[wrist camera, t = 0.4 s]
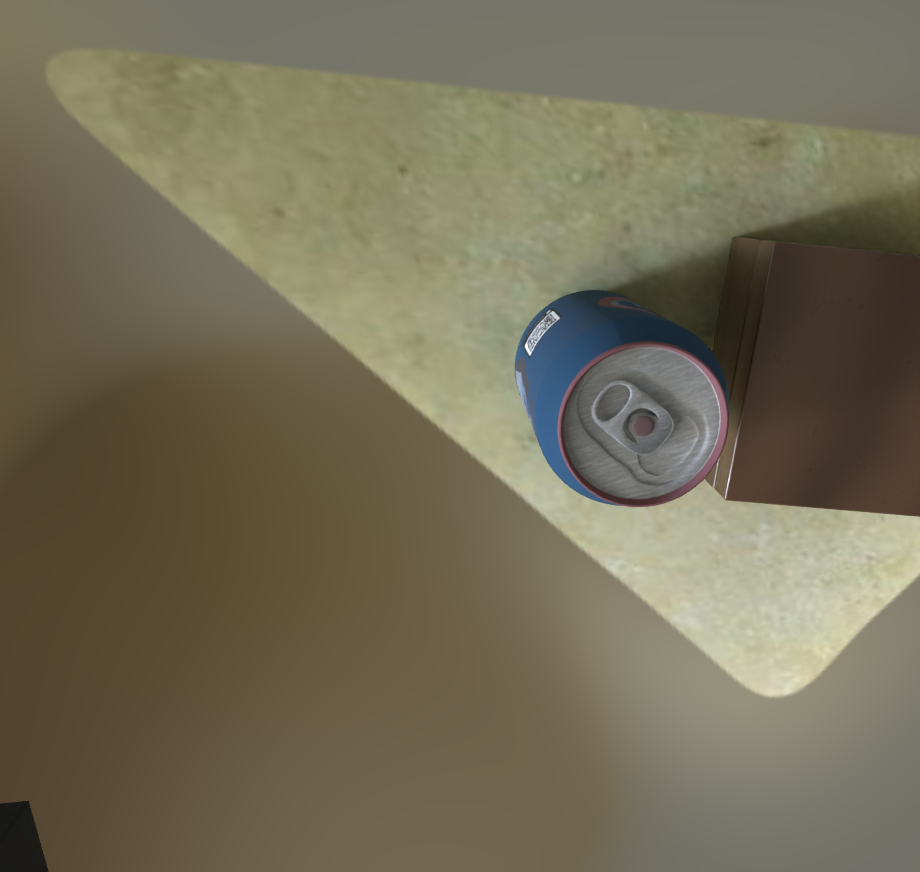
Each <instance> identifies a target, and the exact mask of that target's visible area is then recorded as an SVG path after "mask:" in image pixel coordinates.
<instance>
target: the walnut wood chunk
mask: <svg viewBox="0 0 920 872" xmlns="http://www.w3.org/2000/svg"><path fill="white" fill-rule="evenodd" d="M712 353H713V354H714V356H715V357H716V359H717V360H718V362H719V364H720V366H721V368H722V370H723V372H724V375H725V378H726V381H727V386H728V391H729V400H730V412H729V426H728V434H727V439H726V442H725V445H724V448H723V451H722V453H721V455H720V457H719V459H718V461H717V463H716V464H715V466H714V467H713V469H712V470H711V472H710V473H709V474H708V475H707V476H706V477H705V478H704V479H705V480H706V481H707V482H708V483H709V484H710V485H711V486H712V487H713V488H714V489H715V490H716V491H717V492H718V493H719V494H720V495H721V496H722V497H723V498H724V499H725V500H729V501H741V502H753V503H765V504H777V505H788V506H800V507H812V508H824V509H836V510H848V511H859V512H871V513H883V514H895V515H907V516H918V517H920V255H916V254H906V253H891V252H880V251H870V250H860V249H850V248H839V247H829V246H819V245H809V244H798V243H789V242H780V241H771V240H762V239H752V238H742V237H733V239H732V244H731V250H730V255H729V261H728V267H727V272H726V278H725V283H724V289H723V295H722V300H721V306H720V311H719V317H718V323H717V328H716V334H715V340H714V345H713V351H712Z"/></svg>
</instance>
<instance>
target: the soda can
mask: <svg viewBox="0 0 920 872" xmlns="http://www.w3.org/2000/svg"><path fill="white" fill-rule="evenodd" d="M515 378H516V383H517V388H518V391H519V394H520V396H521V399H522V401H523V404H524V407H525V409H526V412H527V414H528V417H529V419H530V422H531V424H532V427H533V429H534V432H535V435H536V437H537V440H538V442H539V445H540V447H541V450H542V452H543V454H544V456H545V458H546V460H547V462H548V464H549V465H550V467H551V468H552V470H553V471H554V472H555V473H556V475H557V476H558V477H559V478H560V479H561V480H562V481H563V482H564V483H565V484H567V485H568V486H569V487H570V488H572V489H573V490H575V491H576V492H578V493H580V494H581V495H583V496H585V497H587V498H590V499H592V500H595V501H598V502H601V503H606V504H611V505H619V506H628V507H649V506H655V505H659V504H663V503H666V502H669V501H672V500H674V499H676V498H679V497H681V496H682V495H684V494H686V493H687V492H689V491H690V490H692V489H693V488H694V487H696V486H697V485H698V484H699V483H700V482H701V481H702V480H703V479H704V478H705V477H706V476H707V475H708V474H709V473H710V472H711V470H712V469H713V467H714V466H715V464H716V463H717V461H718V459H719V457H720V455H721V453H722V451H723V448H724V445H725V442H726V439H727V434H728V426H729V412H730V400H729V391H728V386H727V381H726V378H725V375H724V372H723V370H722V368H721V366H720V364H719V362H718V360H717V359H716V357H715V356H714V354H713V353H712V352H711V350H710V349H709V348H708V347H707V346H706V345H705V344H704V343H703V342H702V341H701V340H700V339H699V338H698V337H696V336H695V335H694V334H692V333H691V332H689V331H688V330H686V329H684V328H682V327H680V326H679V325H677V324H675V323H673V322H671V321H669V320H667V319H665V318H664V317H662V316H660V315H658V314H656V313H654V312H652V311H650V310H649V309H647V308H645V307H643V306H641V305H639V304H637V303H636V302H634V301H632V300H630V299H628V298H626V297H624V296H621V295H619V294H616V293H612V292H607V291H599V290H590V291H581V292H576V293H572V294H569V295H566V296H564V297H561V298H559V299H557V300H556V301H554V302H552V303H551V304H549V305H548V306H546V307H545V308H544V309H543V310H541V311H540V312H539V313H538V314H537V315H536V316H535V318H534V319H533V320H532V321H531V322H530V324H529V325H528V327H527V328H526V330H525V332H524V334H523V336H522V338H521V340H520V343H519V346H518V349H517V353H516V359H515Z"/></svg>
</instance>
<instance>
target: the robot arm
mask: <svg viewBox="0 0 920 872" xmlns="http://www.w3.org/2000/svg"><path fill="white" fill-rule="evenodd" d="M0 872H48V868H47V865H46V861H45V858H44V854H43V851H42V847H41V843H40V840H39V836H38V833H37V829H36V826H35V822H34V819H33V815H32V812H31V808H30V805H29V801H23V802H12V803H3V804H0Z"/></svg>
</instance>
